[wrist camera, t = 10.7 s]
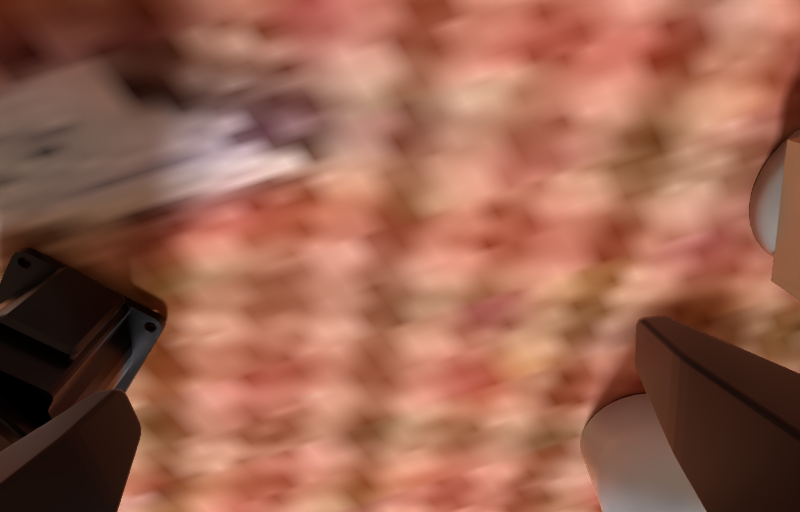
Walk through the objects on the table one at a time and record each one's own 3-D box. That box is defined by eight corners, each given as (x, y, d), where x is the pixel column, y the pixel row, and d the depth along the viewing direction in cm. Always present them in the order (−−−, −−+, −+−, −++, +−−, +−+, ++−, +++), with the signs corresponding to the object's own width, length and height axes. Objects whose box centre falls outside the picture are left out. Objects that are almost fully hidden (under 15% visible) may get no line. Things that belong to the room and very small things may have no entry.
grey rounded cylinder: (662, 491, 29) (719, 606, 23) (560, 465, 28) (595, 577, 23) (724, 411, 26) (805, 519, 21) (614, 380, 25) (668, 483, 20)
